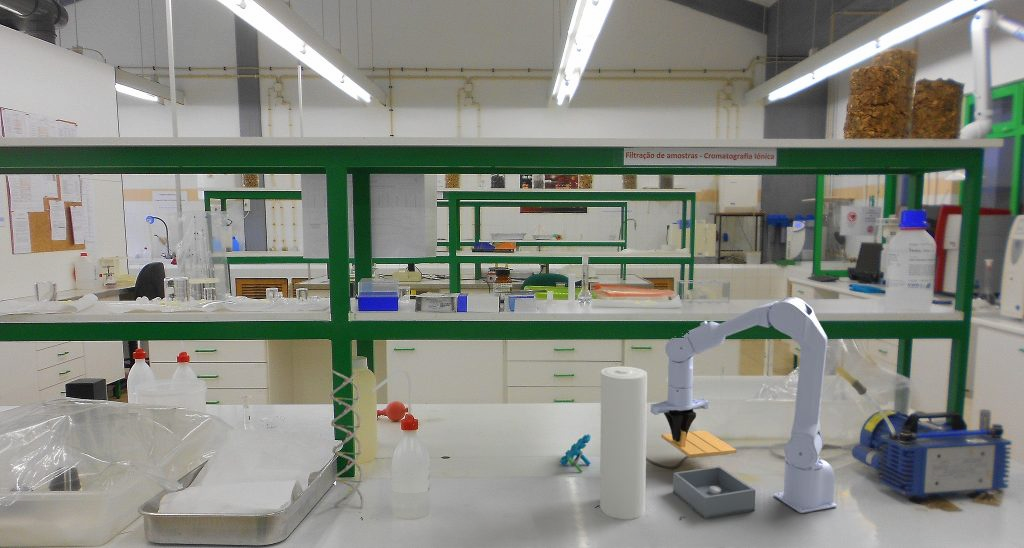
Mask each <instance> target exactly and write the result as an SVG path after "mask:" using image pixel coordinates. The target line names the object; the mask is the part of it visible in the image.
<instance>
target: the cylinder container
mask: <svg viewBox="0 0 1024 548" xmlns="http://www.w3.org/2000/svg"><path fill="white" fill-rule="evenodd" d="M647 403H648V372H647V371H646V370H644V369H642V368H638V367H633V366H626V365H625V366H622V365H621V366H618V365H617V366H609V367H604V368H602V369H601V371H600V451H599V453H600V456H599V457H600V467H599V468H600V470H599V471H600V479H599V482H600V483H599V489H600V490H599V491H600V492H599V508H600V510H601V512H602V513H603V514H605V515H607V516H608V517H610V518H614V519H616V520H617V519H618V520H634V518H635V519H638V518H640V517H642V516H643V515H645V512H646V479H647V478H646V476H647V474H646V472H647V470H646V469H647V468H646V467H647V422H648V421H647V420H648V419H647V417H648V416H647V414H648V413H647V412H648V410H647V409H648V407H647V405H648V404H647Z"/></svg>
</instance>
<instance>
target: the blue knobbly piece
mask: <svg viewBox="0 0 1024 548" xmlns="http://www.w3.org/2000/svg"><path fill="white" fill-rule="evenodd" d="M591 437H592V436H591V435H590V434H589V433H588V434H584V435H583V436H582V437H580V438H578V439H577V442H576V443H573V444H572V445H571V446H570V449H568V450H567V451H566V452H565V453H564V454H565V455H563V456H562V457H561V459H560V462H559V464H561V465H562V466H563V465H564V466H565V465H567V464H568V463H569V464H570V465H571V466H572V468H573V467H574V468H576V469H577V470H578V472H579V473H583V471H584V470H583V469H582V468H581V467H580V466H579V465H578V462H579V460H580V459H581V460H582V462H584V463H585V465H586V466H590V465H591V462H590V461H589V459H588V458H587V457H586V456H585V455H584V454H583V451H582V450H583V449H584V448H585V447H586V446H587V444H589V442H590V441H591ZM581 449H582V450H581ZM574 457H575V458H574Z"/></svg>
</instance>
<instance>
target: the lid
mask: <svg viewBox="0 0 1024 548" xmlns="http://www.w3.org/2000/svg"><path fill="white" fill-rule="evenodd" d="M660 436H661V439H663V440H664V441H666V442H667V443H669V444H670V445H671V446H673V447H674V448H676V449H677V450H679V452H681V453H683V454H684V455H685V456H686V457H688V458H689V459H694V458H705V457H713V456H722V455H723V456H725V455H726V456H727V455H730V454H731V455H732V454H737V451H738V450H737V449H736V448H734V447H733V446H731V445H729V444H728V443H726V442H725V441H723V440H721V439H719V438H718V437H717V436H715V435H713V434H711V433H710V432H708V431H707V430H695V431H688V433H687V437H686V432H685V431H683V430H682V429H681V430H680V441H679V442H676V441H675V440H673V438H672V433H661V435H660Z"/></svg>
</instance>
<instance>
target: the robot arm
mask: <svg viewBox="0 0 1024 548" xmlns="http://www.w3.org/2000/svg"><path fill="white" fill-rule="evenodd" d="M699 324H700V325H699V326H697V327H695V328H693V329H690V330H688V331H689V332H688V333H689V334H688V333H686V334H685V335H684V336H682V337H684V338H673V337H672V338H671V340H670V339H669V340H668V341H667V342H666V344H665V348H664V349H665V353H666V356H667V357H668V366H667V367H668V368H667V370H668V371H667V400H664V401H661V402H656V403H652V404H650V413H651V414H653V415H654V416H655V415H658V416H659V414H663V415H664V416H665V418H666V420H667V423H668V425H669V429H670V432H671V433H672V438H673V440H675V441H676V442H679V441H680V430H681V429H682V430H683V431H685V432H686V437H687V433H688V432H689V431H690V430H689V429H690V428H691V426H692V423H693V422H694V420H696V418H697V412H695V411H694V410H701V409H703V410H709V400H707V399H705V398H698V399H697V398H693V396H694V395H693V391H694V390H693V389H694V387H693V385H694V355H699V354H702V353H704V352H707V351H710V350H711V349H715V348H717V347H719V346H722V345H723V344H724V343H725V339H726V337H729V336H731V335H734V334H736V333H739V332H742V331H745V330H747V329H750V328H753V327H756V326H760V327H763V328H770V327H773V328H774V329H775V330H778V331H779V332H780V333H782V334H785V335H786V336H789V337H790V338H791V339H792V340H793V341H794V342H795V343H796V344H797V345H799V346H800V355H799V357H800V358H799V364H798V365H799V367H798V375H797V385H796V396H795V397H796V398H795V409H794V417H793V422H792V426H791V432H790V438H789V439H788V441H787V442H786V443H785V445H784V455H785V456H784V470H783V471H784V472H783V473H784V475H783V476H784V477H783V491H782V492H776V493H774V494H773V496H774V497H775V498H776V499H778V500H779V501H781V502H783V503H784V504H786V505H787V506H789V507H791V508H792V509H794V510H795V511H797V512H798V513H801V514H803V513H805V514H806V513H811V512H815V511H821V510H825V509H830V508H831V509H832V508H837V503H835V502H834V500H835V499H834V498H835V480H836V479H835V476H836V475H835V473H834V472H835V471H834V469H833V467H832V466H831V464H829V462H828V461H826V460H824V459H822V458H821V456H820V452H821V450H822V449H823V447H824V443H825V442H824V438H823V436H822V435H823V434H822V433H821V421H820V420H821V419H820V418H821V410H822V409H821V405H822V399H823V398H822V397H823V390H824V389H823V388H824V379H825V370H826V358H827V350H828V349H827V348H828V336H827V334H826V332H825V331H824V329H823V327H822V325H821V323H820V322H819V320H818V318H817V317H816V313H815V312H814V309H813V308H812V307H811V306H810V305H809V304H808V303H806V302H805V301H804V300H803V299H801V298H799V297H796V296H789V297H785V298H783V299H781V301H780V302H779V300H776V301H772V302H769V303H765V304H762V305H758V306H756V307H754V308H752V309H750V310H748V311H745V312H744V313H741V314H739V315H737V316H735V317H733V318H730V319H728V320H726V321H724V322H721V323H718V322H715V321H712V320H711V321H707V320H705V321H702V322H701V323H699ZM672 339H674V340H672Z"/></svg>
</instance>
